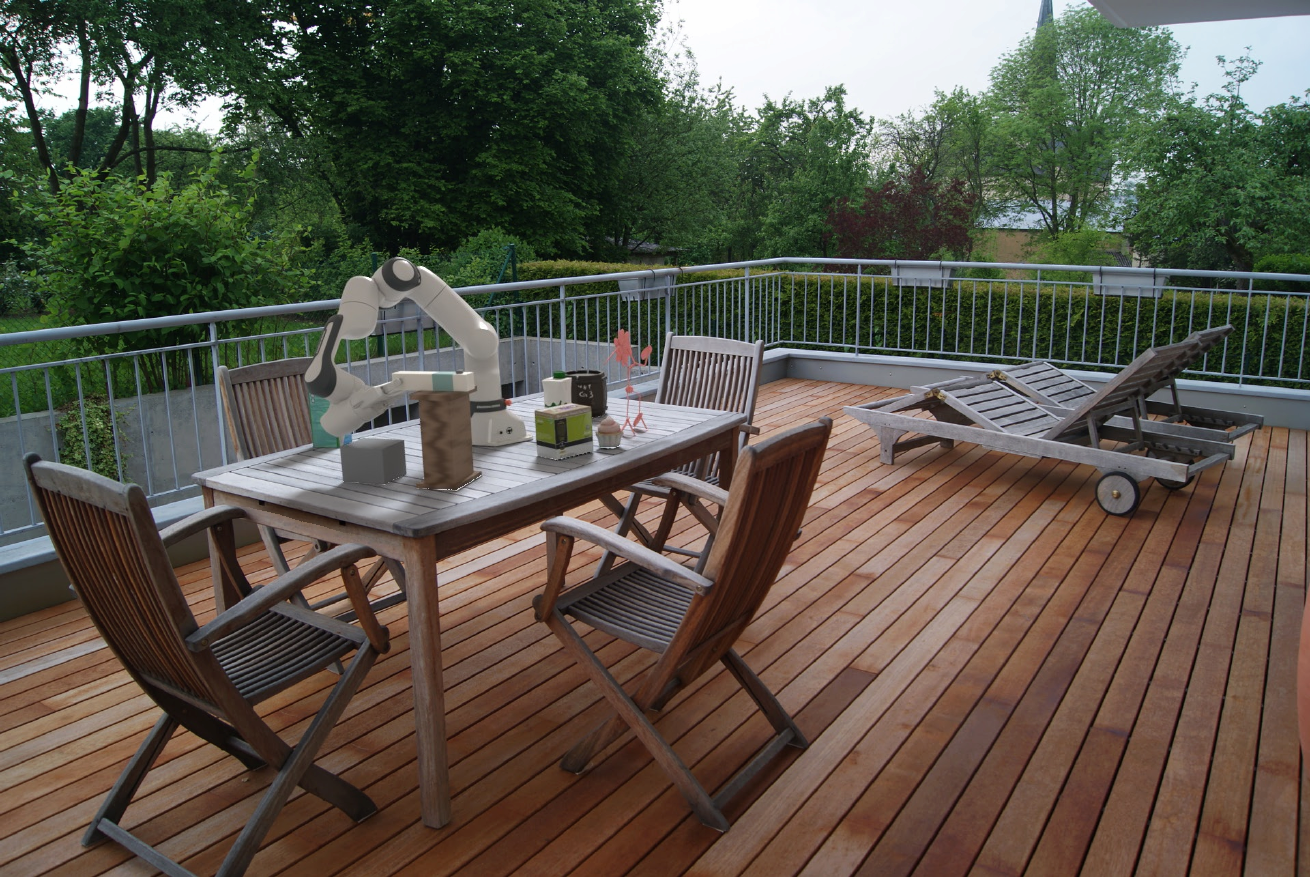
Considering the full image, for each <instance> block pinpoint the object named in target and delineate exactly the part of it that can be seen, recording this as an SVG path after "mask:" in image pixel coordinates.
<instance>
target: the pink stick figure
mask: <svg viewBox="0 0 1310 877" xmlns="http://www.w3.org/2000/svg"><path fill="white" fill-rule="evenodd" d="M613 344H614V347H615V348H614V351H612V352H611V354H610V356H608V358H607V359H606V360H605V362H604V363H603V365H605V366H606V364H607V362H608V361H609V360H610V359H611V358H612V357H613V356H614V354H616V357H615V362H616V363H621V366H622V367H625V366H626V367H627V386H625V390H624V391H625V392H626V397H627V407H626V408H627V409H626V419H625V422H624V423H623V425H622V426H621V427H622V428H620V429H621V431H623V432H624V430H625V428H626V427H627V425H629V427H630V430H631V431H632V434H633V435H634V434H636V432H635V431H634V429H633V428H635V427H636V426H637V425H638V424H639V423H640V422H642V424H643V426H644V429H645V430H646V429H648V427H647V425H646V423H645V421H644V419H643V412H641V397H642V396H641V393H639V392H637V391H634V387H633V386H632V385H629V383H630V371H631V370H632V368H634V367H635V366H641V367H644V368H645V367H646V366H647V362H648V358H649V356H650V354H652V352H653V347H652V345H650V344H649V345H648V346H645V348H644V349H643V350H642V352H640V358H641V360H642V361H643V360H645V361H644V364H642V363H638V362H636V361H635V359H634V357H633V351H632V347H631V342H630V331H625V330H624V329H623V328H622V329H619V330H618V331H617V338H616V337H614V339H613ZM629 357H630V358H631V360H632V362H633V363H631V365H628V359H629ZM633 393H634V394H636V395H638V396H639V402H638V403H639V406H638V414H637V415H636V417H635V418H634V420H633V424H631V422H630V417H629V416H628V415H629V401H630V399H629V394H633ZM653 427H656V425H653Z"/></svg>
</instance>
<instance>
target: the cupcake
mask: <svg viewBox="0 0 1310 877" xmlns="http://www.w3.org/2000/svg"><path fill="white" fill-rule="evenodd" d="M621 429H622V428H621V425H620V423H619V422H618V421H617V420H614V418H612V417H611V416H609V415H608V416H607V417H606V418H605V419H603V420H601V422H600V424H599V425H598V427H597V431H594V434H595V436H596V438H597V441H598V447H599V448H600V447H617V446H619V445H620V446H621V441H622V438H623V436H624V433H625V432H624V430H623V431H621ZM620 446H619V447H620Z"/></svg>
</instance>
